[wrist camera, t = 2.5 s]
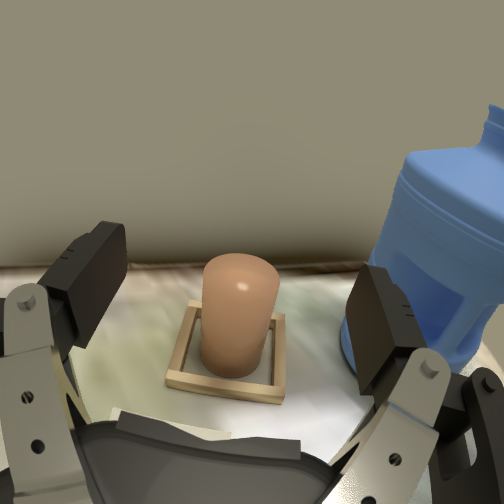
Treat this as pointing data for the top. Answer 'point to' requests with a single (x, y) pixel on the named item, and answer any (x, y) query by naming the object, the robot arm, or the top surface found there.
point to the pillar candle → (236, 313)
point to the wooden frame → (222, 386)
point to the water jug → (448, 242)
